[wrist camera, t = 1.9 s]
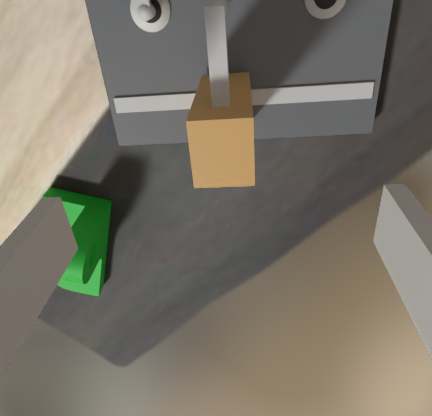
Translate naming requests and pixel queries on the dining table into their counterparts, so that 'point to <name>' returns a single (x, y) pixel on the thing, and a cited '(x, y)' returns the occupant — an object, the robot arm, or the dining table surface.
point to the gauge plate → (243, 63)
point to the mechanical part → (85, 240)
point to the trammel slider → (221, 115)
